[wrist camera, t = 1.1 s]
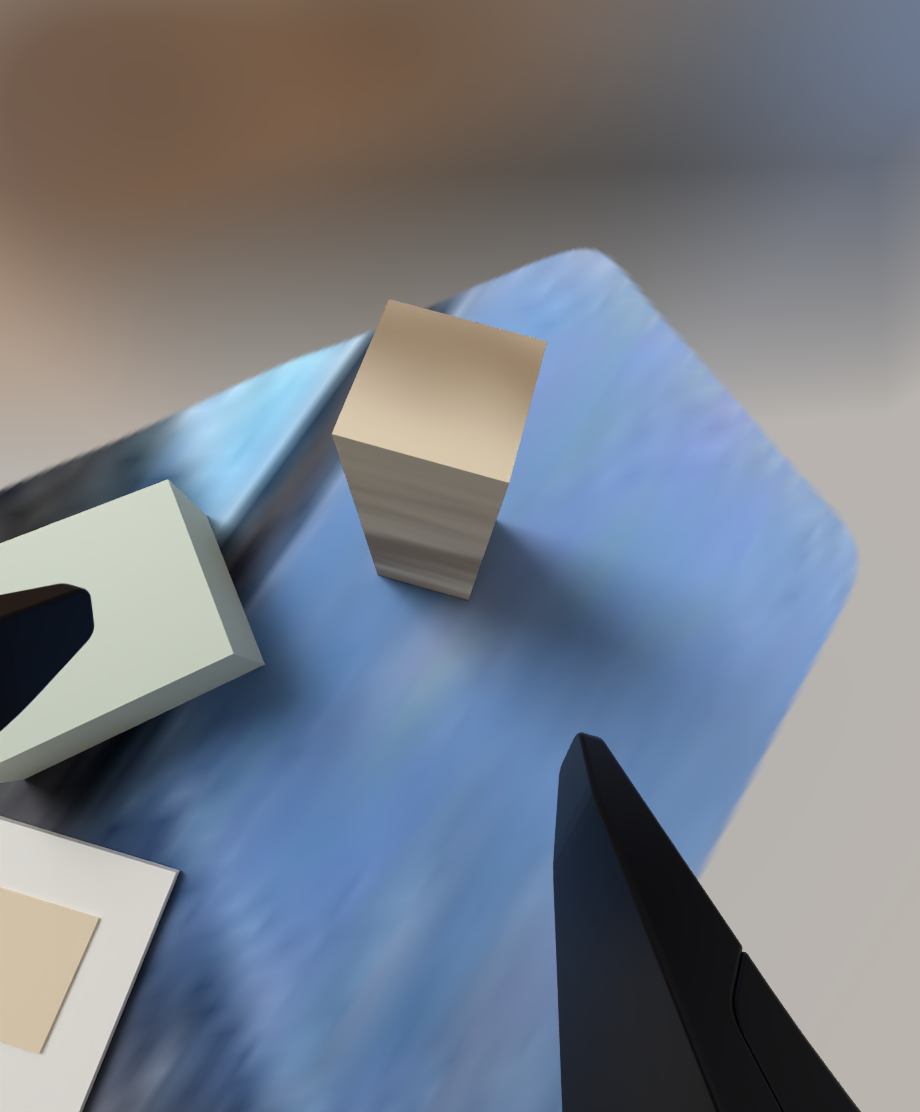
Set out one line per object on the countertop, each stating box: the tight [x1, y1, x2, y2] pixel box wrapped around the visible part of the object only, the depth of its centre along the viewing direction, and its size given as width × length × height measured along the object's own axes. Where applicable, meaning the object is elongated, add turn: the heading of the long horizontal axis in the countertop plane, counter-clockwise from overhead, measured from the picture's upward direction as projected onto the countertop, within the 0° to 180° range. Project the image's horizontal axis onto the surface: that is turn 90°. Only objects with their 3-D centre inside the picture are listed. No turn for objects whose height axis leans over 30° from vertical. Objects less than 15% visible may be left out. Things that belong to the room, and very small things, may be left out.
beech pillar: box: [332, 299, 547, 600], centre depth 18 cm, size 4×4×12 cm
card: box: [0, 816, 180, 1112], centre depth 17 cm, size 8×8×1 cm
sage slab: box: [0, 480, 265, 783], centre depth 20 cm, size 10×8×4 cm
